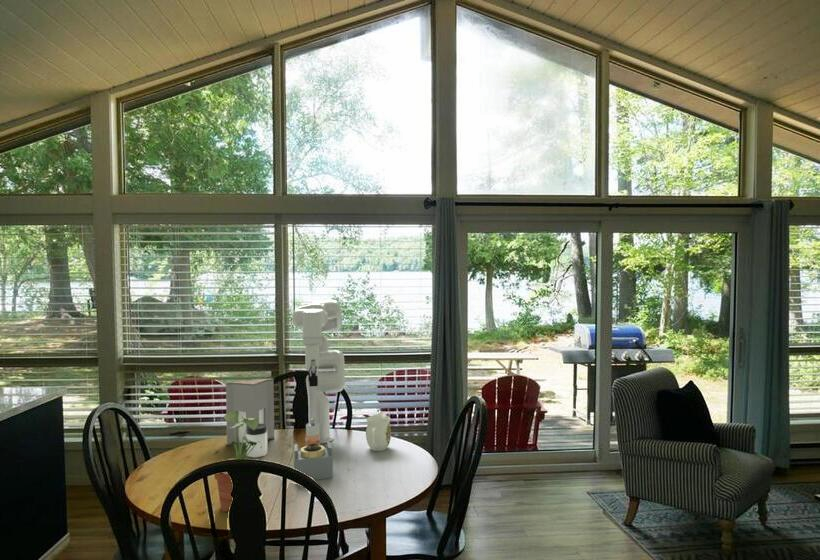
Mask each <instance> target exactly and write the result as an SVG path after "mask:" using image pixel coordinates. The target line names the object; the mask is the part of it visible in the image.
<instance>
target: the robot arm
mask: <svg viewBox="0 0 820 560" xmlns="http://www.w3.org/2000/svg"><path fill="white" fill-rule="evenodd" d="M341 309H342V307H341V305H340V302H338V300H335V299H326V300H325V299H322V300H320V299H319V300H318V299H317V300H314V301H312V302H311V303H310V304H308V305H307V304H306V305H302V306H298V307H296V308H295V309H294V311H293V314H292V322H293V325H294V326H295V327H296V328H302V346H304V347H305V351H304V353H305V354H304V356H305V358H304V359H305V361H304V362H305V363H304V365H305V366H304V367H305V370H306V371H307V372H308V373H307V376H306V378H305V383H306V384H305V385H306V390H307V391H306V392H307V398H308V399H307V400H308V401H307V402H308V403H307V405H308V423H311V419H315V423H319V437H320V444H319V445H322V444H327V441H330V442H332V441H333V440H334V436H333V435H332V434H330V433H331V429H330V428H331V427H330V424H331V423H330V401H329V398H328V397H327V396H326V394H325V393H338V392H342V391H343V390H344V388H345V385H346V384H345V381H346V380H345V379H346V378H345V373H346V372H345V355H344V352H342V351H341V350H339V349H331V350H330V349H329V348H330V346H329V345H330V344H329V340H328V339H327V337H326V336H325V335H324V334H322V332H338V331H340V330H341V329H342V325H343V321H342V320H343V319H342V310H341Z"/></svg>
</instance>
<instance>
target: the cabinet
mask: <svg viewBox="0 0 820 560" xmlns="http://www.w3.org/2000/svg"><path fill="white" fill-rule="evenodd" d="M274 383H275V381H274V378H264V379H253V380H251V379H250V380H240V381H230V382H228V381H227V382H225V394H226V395H225V405H226V407H225V409H226V414H228V413H230V412H239V415H238V422H240V421H243V420H244V419H242V418H241V415H242V416H243V417H245V418H259V419H258V420H259V422H258V424H265V425H266V426H267V441H269V440H274V439H275V400H274V399H275V396H274V395H275V394H274V393H275V389H274V388H275V387H274V386H275V385H274ZM226 414H225V415H226ZM230 423H231V424H230ZM227 424H228V425H227ZM236 424H237V423H236V422H231V421H226V445H227V446H231V445H232V446H233V444H232V443H231V442H234V438H233V434H234V437H235V441H236V443H237V446H239V444H238V436H239V441H240V446H241V443H242V440H243V437H245V436H246V434H247V429H246V427H247V425H246V423H244V425H243V426H241V425H240V428H239V427H234V428H232V429H231V427H233V426H235V425H236ZM228 426H229V427H230V428H229V427H228ZM232 430H233V433H232ZM237 430H238V435H237ZM245 430H246V432H245ZM244 434H245V436H244ZM245 442H246V440H243V445H242V447H243V446H244V447H246V443H245Z"/></svg>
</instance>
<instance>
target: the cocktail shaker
mask: <svg viewBox="0 0 820 560" xmlns="http://www.w3.org/2000/svg"><path fill="white" fill-rule="evenodd" d="M319 445H321V444H320V437H319V423H315V419H311V423H309V422H308V423H305V446H306V451H309V452H312V451H318V450H320V448H319Z"/></svg>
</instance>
